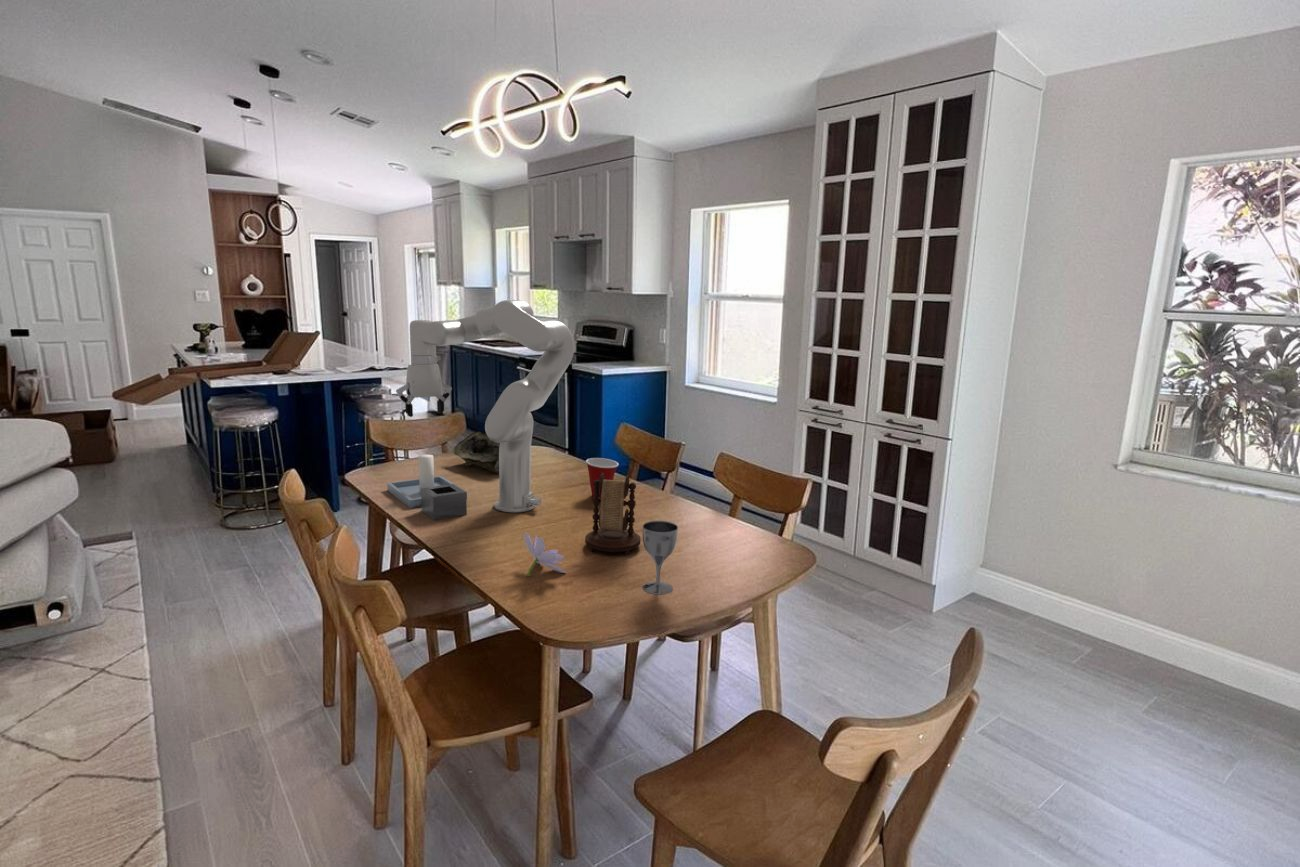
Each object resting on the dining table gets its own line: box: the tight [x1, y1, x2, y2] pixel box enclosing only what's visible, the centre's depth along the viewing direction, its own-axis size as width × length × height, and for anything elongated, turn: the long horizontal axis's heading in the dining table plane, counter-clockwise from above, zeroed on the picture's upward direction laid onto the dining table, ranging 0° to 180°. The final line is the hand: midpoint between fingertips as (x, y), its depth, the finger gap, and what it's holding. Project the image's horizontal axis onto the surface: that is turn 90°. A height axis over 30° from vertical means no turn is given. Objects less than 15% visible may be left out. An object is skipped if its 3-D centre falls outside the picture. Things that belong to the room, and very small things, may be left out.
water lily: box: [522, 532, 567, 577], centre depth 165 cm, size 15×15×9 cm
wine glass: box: [641, 520, 679, 595], centre depth 158 cm, size 8×8×15 cm
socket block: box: [420, 483, 468, 521], centre depth 205 cm, size 10×10×7 cm
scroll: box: [584, 473, 642, 556], centre depth 182 cm, size 15×15×20 cm
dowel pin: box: [418, 454, 435, 494], centre depth 221 cm, size 4×4×12 cm
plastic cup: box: [585, 457, 619, 499], centre depth 227 cm, size 11×11×12 cm
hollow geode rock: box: [452, 431, 500, 475], centre depth 256 cm, size 28×13×15 cm
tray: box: [386, 475, 468, 509], centre depth 222 cm, size 22×18×2 cm
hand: (425, 414), depth 217 cm, fingers open, 9 cm apart
